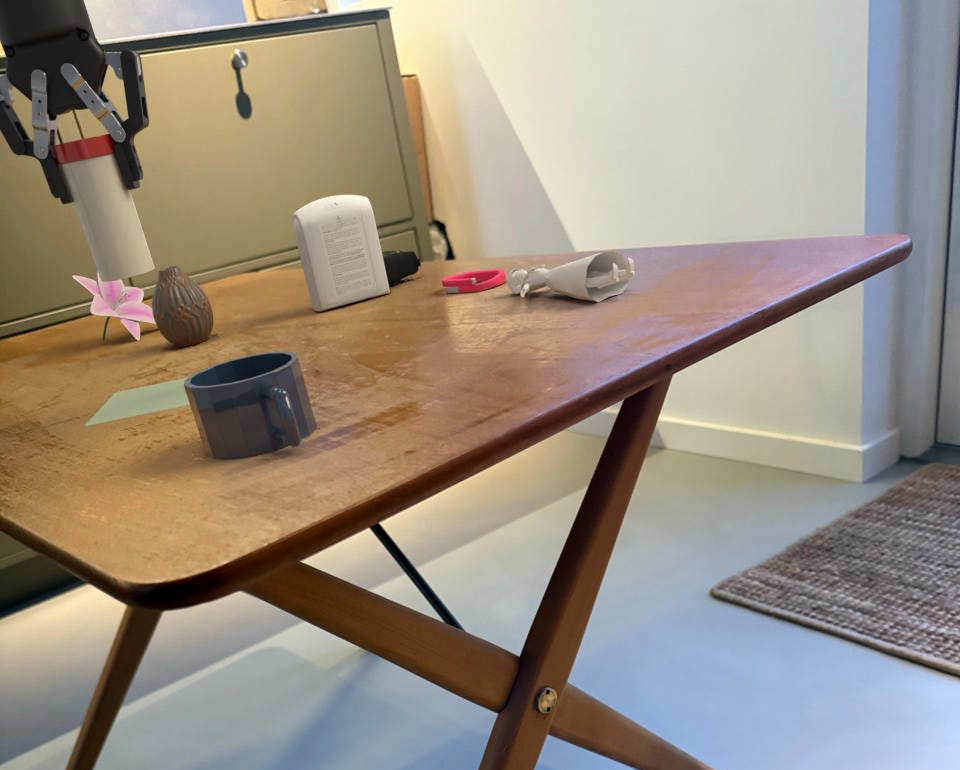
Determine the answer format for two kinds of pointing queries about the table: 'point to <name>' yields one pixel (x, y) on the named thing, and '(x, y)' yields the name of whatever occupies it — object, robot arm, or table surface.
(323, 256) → the white rounded block
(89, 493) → the table surface
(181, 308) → the vase
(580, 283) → the woman figurine
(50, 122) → the robot arm
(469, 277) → the fitness band
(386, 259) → the tape measure
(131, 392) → the sticky note
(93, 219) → the jar
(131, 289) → the lily
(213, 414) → the mug
